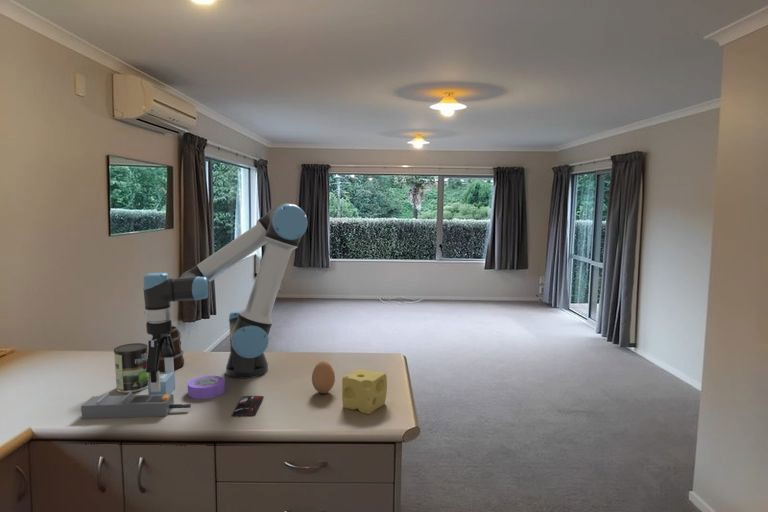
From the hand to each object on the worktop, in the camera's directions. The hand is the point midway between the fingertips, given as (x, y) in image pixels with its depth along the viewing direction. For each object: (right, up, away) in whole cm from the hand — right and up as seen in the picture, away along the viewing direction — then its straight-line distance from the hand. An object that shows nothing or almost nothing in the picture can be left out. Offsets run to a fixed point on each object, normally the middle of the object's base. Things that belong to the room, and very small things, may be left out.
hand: (163, 383), depth 169 cm
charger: (0, -4, 0) cm, 4 cm away
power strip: (-1, -5, -14) cm, 15 cm away
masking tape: (+13, -4, +2) cm, 14 cm away
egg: (+53, -4, +2) cm, 53 cm away
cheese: (+67, -5, -8) cm, 67 cm away
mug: (-10, 0, +29) cm, 31 cm away
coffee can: (-13, -3, +6) cm, 15 cm away
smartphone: (+31, -5, -9) cm, 32 cm away
